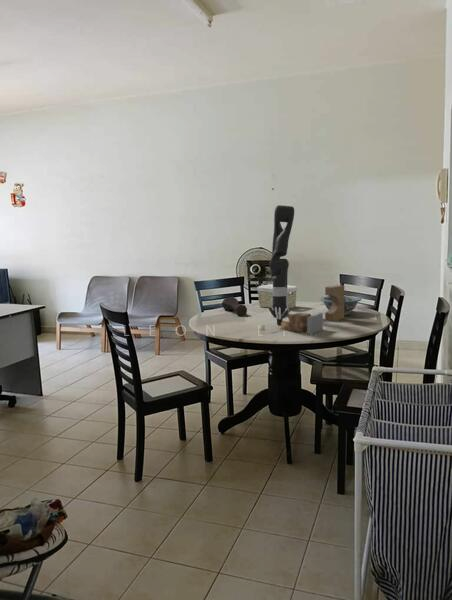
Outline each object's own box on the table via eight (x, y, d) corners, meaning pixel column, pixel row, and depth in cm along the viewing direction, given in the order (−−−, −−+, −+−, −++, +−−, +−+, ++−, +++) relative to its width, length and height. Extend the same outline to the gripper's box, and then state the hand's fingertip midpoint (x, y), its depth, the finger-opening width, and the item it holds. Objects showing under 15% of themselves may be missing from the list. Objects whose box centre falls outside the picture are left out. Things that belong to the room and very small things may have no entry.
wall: (307, 334, 250) (307, 317, 248) (319, 328, 261) (319, 312, 259) (310, 334, 249) (310, 317, 247) (322, 329, 260) (322, 312, 258)
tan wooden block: (281, 329, 264) (280, 322, 264) (284, 327, 267) (284, 320, 267) (297, 331, 258) (296, 324, 258) (300, 329, 261) (300, 322, 261)
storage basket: (298, 306, 332) (298, 285, 330) (285, 310, 320) (285, 288, 318) (270, 304, 347) (269, 283, 345) (256, 307, 335) (256, 286, 333)
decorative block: (331, 321, 279) (331, 287, 275) (324, 320, 283) (324, 286, 280) (344, 319, 285) (345, 285, 282) (337, 317, 289) (337, 284, 286)
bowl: (369, 312, 302) (369, 297, 300) (345, 318, 285) (345, 303, 284) (335, 308, 320) (336, 294, 319) (312, 314, 304) (312, 299, 302)
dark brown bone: (225, 312, 332) (239, 324, 306) (218, 300, 328) (232, 311, 302) (238, 304, 333) (253, 315, 308) (231, 291, 329) (246, 302, 304)
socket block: (289, 330, 258) (288, 315, 257) (297, 326, 266) (297, 312, 265) (302, 331, 254) (302, 317, 252) (310, 328, 262) (310, 313, 260)
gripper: (265, 294, 265) (266, 325, 268) (286, 296, 257) (286, 328, 260) (272, 293, 271) (273, 323, 274) (293, 294, 263) (293, 325, 266)
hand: (279, 325), depth 267 cm, fingers closed
